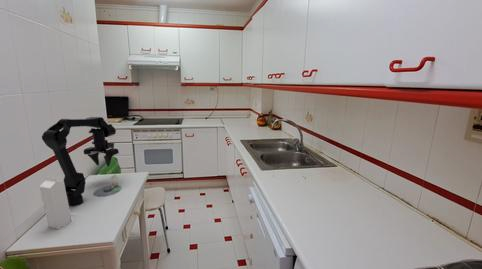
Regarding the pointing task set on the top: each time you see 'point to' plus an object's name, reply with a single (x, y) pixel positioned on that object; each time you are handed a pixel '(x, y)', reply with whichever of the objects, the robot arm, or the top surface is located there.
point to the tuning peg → (115, 182)
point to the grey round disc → (101, 192)
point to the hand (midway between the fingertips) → (103, 165)
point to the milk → (55, 203)
